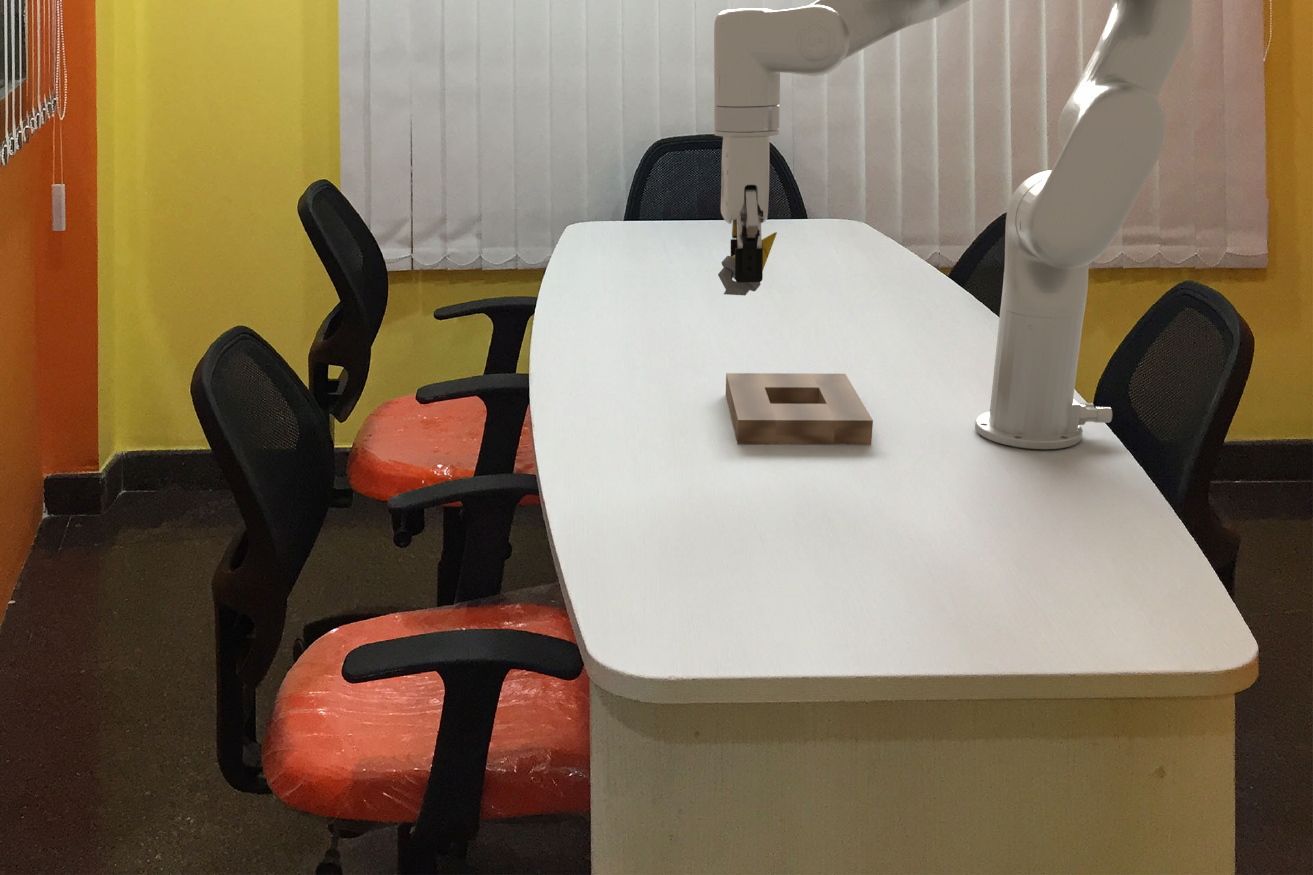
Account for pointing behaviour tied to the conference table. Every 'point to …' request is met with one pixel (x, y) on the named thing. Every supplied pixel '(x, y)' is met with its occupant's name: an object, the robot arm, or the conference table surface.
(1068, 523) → the conference table surface
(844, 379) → the holder block
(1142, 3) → the robot arm
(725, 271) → the drill bit
